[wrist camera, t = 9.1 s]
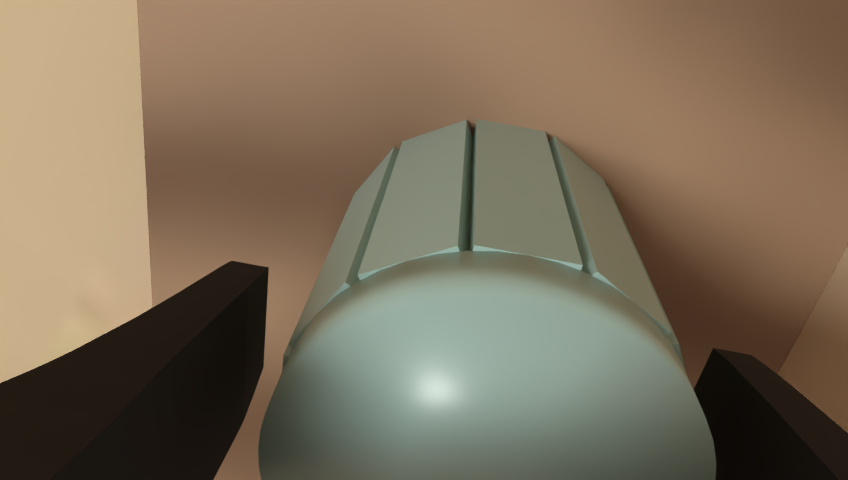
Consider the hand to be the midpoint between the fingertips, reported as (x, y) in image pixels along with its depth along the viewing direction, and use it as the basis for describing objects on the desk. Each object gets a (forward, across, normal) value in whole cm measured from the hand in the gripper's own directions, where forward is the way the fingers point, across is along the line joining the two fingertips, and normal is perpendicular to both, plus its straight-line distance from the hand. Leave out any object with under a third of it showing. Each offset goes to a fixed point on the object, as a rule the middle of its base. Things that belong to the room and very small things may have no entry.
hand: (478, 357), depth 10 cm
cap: (+3, 0, 0) cm, 3 cm away
